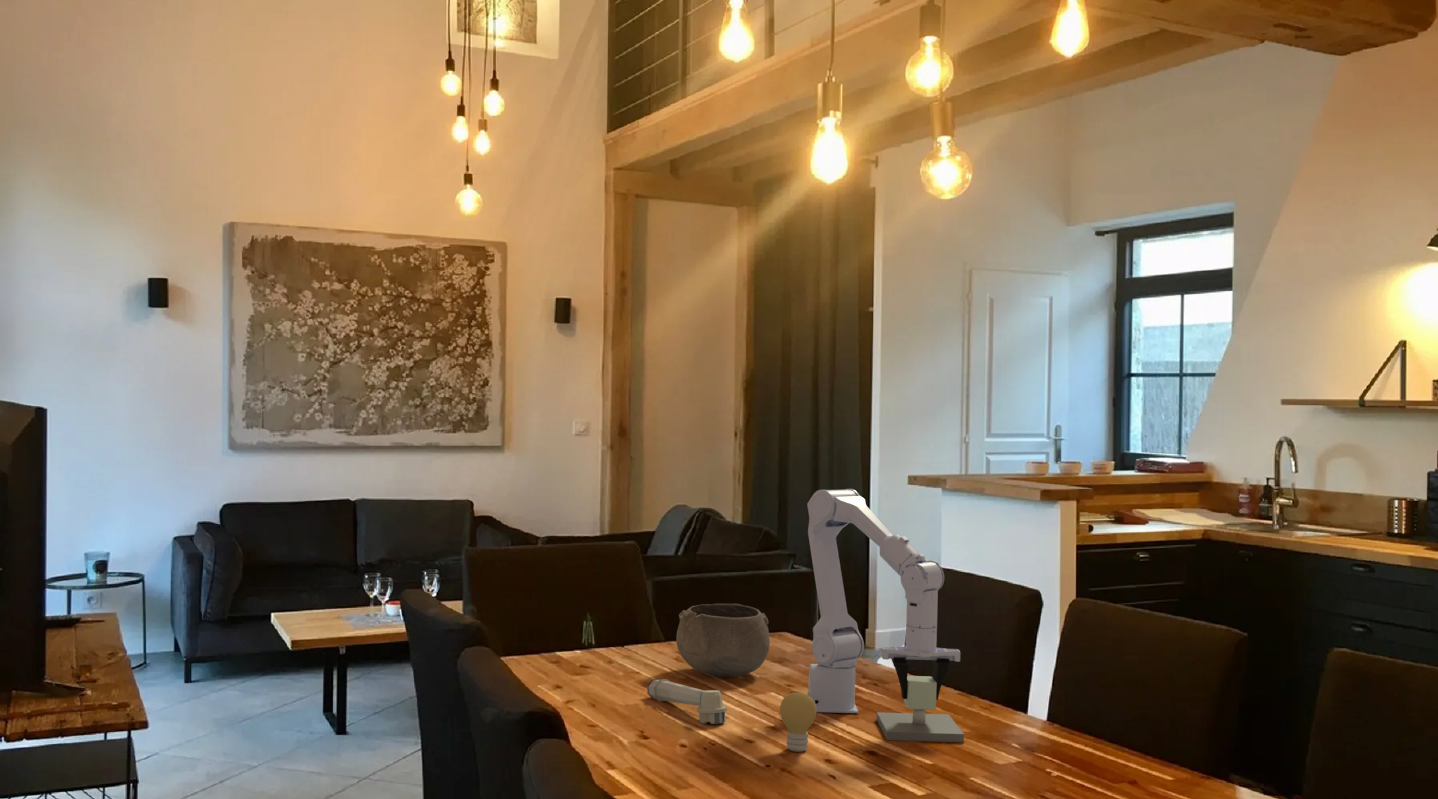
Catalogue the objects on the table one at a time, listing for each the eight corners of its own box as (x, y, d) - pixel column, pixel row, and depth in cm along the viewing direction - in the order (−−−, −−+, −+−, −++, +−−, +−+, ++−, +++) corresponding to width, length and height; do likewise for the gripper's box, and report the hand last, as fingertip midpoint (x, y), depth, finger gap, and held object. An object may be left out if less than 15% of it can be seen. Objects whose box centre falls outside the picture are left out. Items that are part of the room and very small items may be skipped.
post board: (887, 740, 209) (887, 712, 209) (876, 720, 223) (877, 694, 223) (963, 742, 209) (964, 714, 209) (948, 722, 223) (949, 696, 223)
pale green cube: (908, 708, 214) (908, 681, 214) (903, 702, 219) (904, 675, 219) (935, 709, 214) (936, 682, 214) (930, 702, 219) (931, 676, 219)
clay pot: (785, 673, 262) (786, 607, 263) (737, 690, 245) (739, 619, 245) (707, 660, 274) (709, 597, 274) (657, 676, 256) (659, 608, 256)
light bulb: (820, 754, 199) (822, 696, 199) (786, 756, 197) (787, 697, 197) (807, 744, 205) (809, 687, 205) (773, 745, 203) (775, 689, 204)
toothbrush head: (665, 677, 239) (731, 685, 218) (666, 710, 238) (733, 721, 217) (643, 679, 236) (708, 688, 215) (644, 712, 235) (709, 725, 214)
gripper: (886, 628, 213) (884, 702, 212) (964, 630, 213) (962, 704, 212) (880, 622, 220) (879, 693, 219) (956, 624, 220) (954, 695, 219)
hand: (919, 698), depth 216 cm, fingers closed on pale green cube, 5 cm apart
